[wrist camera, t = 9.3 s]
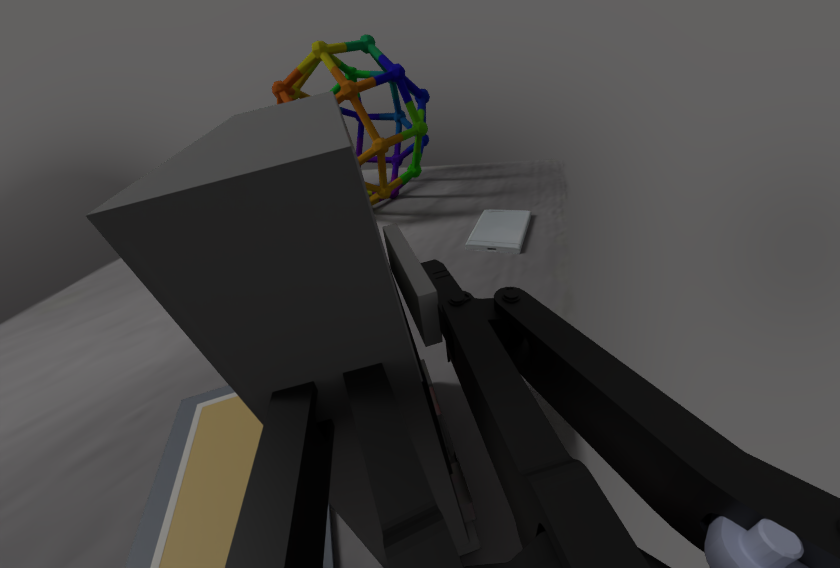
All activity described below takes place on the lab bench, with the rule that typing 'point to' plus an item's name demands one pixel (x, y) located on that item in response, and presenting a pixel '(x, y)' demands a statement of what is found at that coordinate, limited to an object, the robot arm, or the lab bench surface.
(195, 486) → the picture board
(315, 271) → the grey instrument box
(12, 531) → the lab bench surface
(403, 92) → the geometric model
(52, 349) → the lab bench surface
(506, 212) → the hard drive
